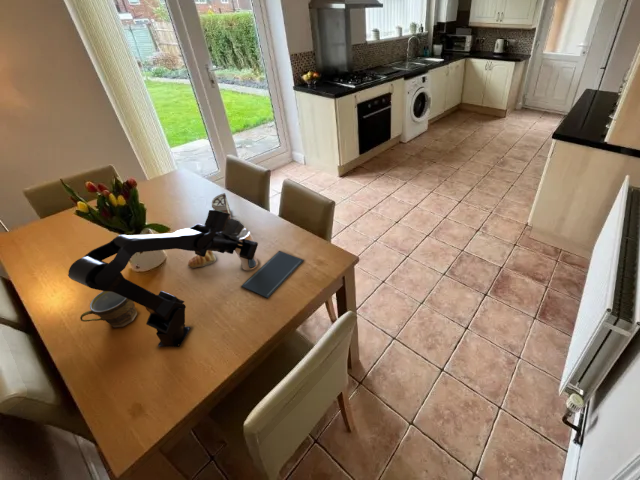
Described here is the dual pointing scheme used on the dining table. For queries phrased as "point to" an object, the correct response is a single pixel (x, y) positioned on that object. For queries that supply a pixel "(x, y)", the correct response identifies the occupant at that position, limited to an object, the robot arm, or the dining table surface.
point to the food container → (221, 204)
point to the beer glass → (244, 262)
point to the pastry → (202, 260)
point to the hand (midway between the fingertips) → (248, 246)
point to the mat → (272, 274)
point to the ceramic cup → (112, 309)
